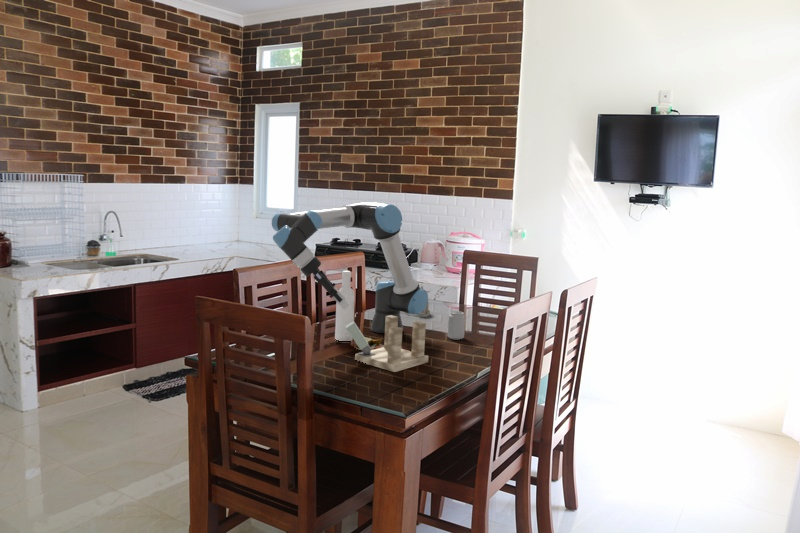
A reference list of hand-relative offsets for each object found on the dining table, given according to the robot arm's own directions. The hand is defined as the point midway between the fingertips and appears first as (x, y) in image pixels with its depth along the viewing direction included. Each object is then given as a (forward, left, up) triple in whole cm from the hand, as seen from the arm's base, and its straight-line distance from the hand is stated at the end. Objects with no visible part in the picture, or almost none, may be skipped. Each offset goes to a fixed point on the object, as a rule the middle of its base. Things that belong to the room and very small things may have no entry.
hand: (345, 304), depth 241 cm
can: (+6, +65, -22) cm, 69 cm away
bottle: (-23, +23, -22) cm, 39 cm away
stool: (+12, +14, -22) cm, 29 cm away
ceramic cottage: (-40, +93, -22) cm, 104 cm away
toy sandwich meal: (-7, +21, -23) cm, 32 cm away
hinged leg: (+6, +8, -19) cm, 21 cm away
